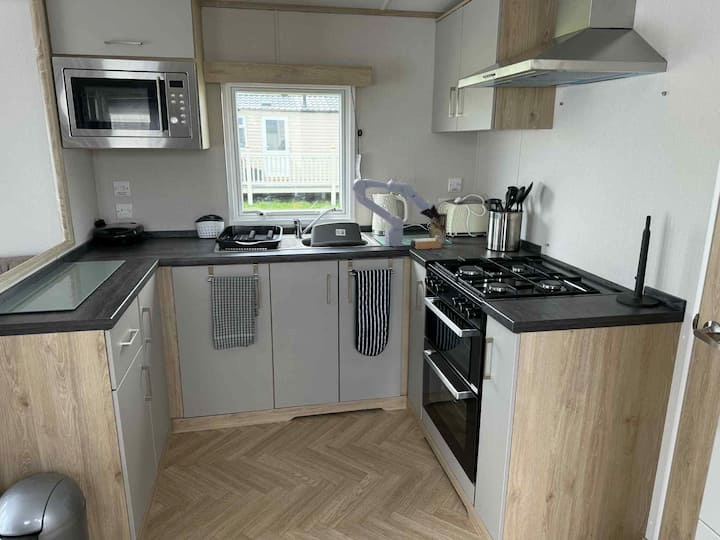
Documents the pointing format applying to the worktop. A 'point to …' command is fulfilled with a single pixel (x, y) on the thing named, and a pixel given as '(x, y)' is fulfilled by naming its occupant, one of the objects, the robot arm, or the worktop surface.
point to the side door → (429, 244)
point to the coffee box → (439, 227)
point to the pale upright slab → (414, 241)
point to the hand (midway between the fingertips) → (435, 217)
